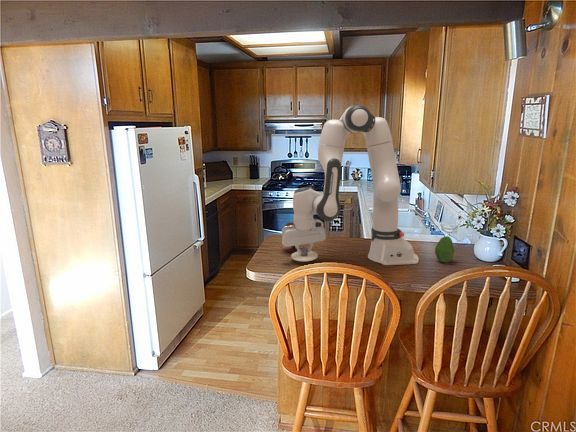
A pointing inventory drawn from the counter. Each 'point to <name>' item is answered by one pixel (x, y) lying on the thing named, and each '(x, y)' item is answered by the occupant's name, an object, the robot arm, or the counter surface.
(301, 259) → the lid
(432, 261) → the counter surface
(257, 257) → the counter surface
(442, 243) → the avocado
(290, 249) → the ice cream bowl
